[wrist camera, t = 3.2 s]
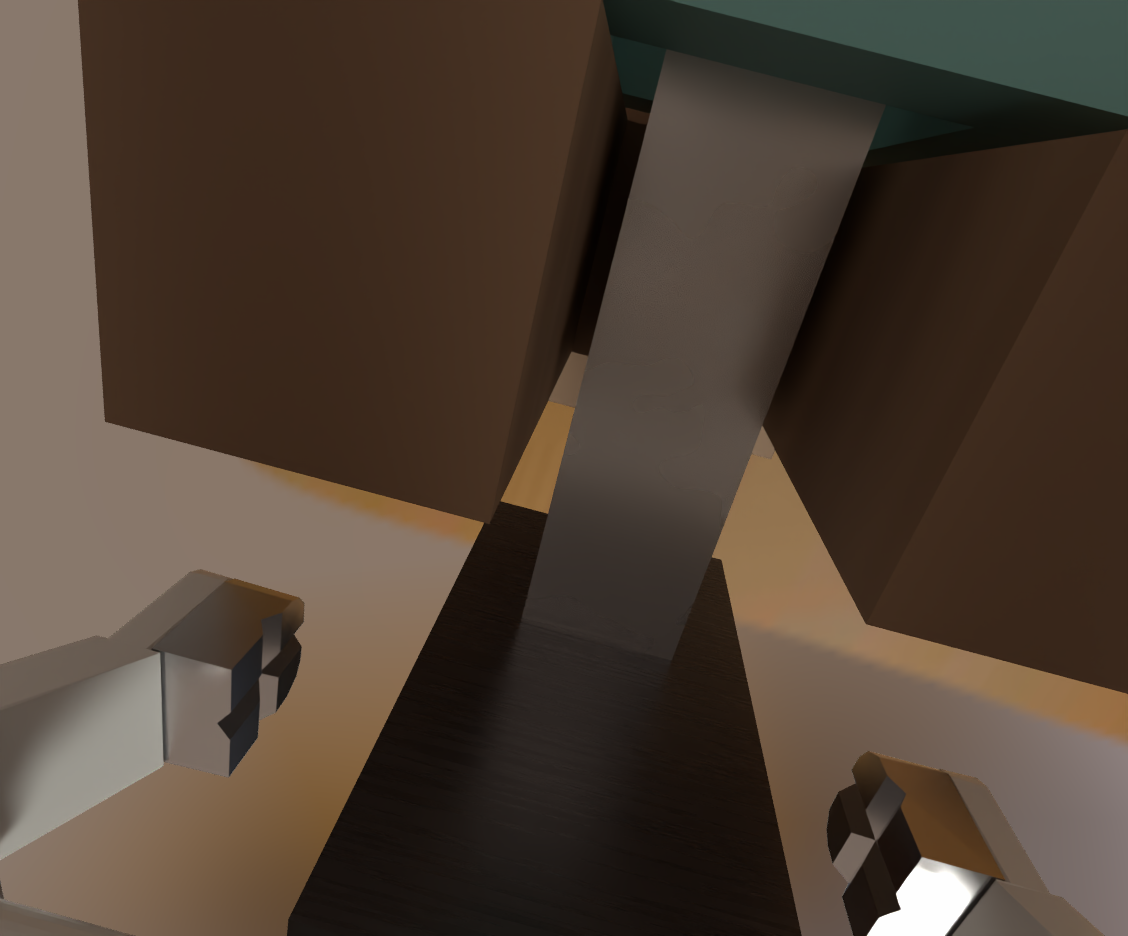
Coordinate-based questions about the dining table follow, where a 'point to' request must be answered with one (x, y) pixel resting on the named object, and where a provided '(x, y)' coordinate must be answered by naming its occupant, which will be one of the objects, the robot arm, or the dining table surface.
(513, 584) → the shaft
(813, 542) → the dining table surface
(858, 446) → the stand
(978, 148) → the spacer
